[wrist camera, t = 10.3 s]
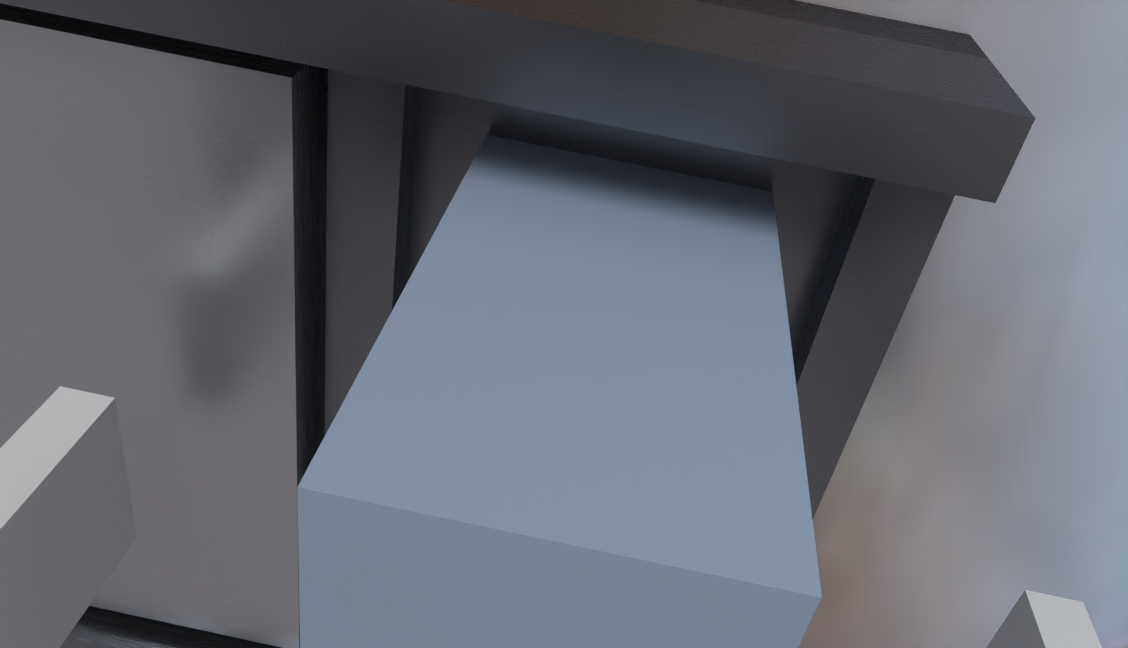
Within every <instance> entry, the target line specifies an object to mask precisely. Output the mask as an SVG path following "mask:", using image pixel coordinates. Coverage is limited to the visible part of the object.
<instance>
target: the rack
mask: <svg viewBox="0 0 1128 648" xmlns="http://www.w3.org/2000/svg"><path fill="white" fill-rule="evenodd" d="M1034 120H1035V117H1034V116H1033V115H1032V113H1031V112H1030V111H1029V109H1028V108H1027V107H1026V106H1025V104H1024V103H1023V102H1022V101H1021V99H1020V98H1019V97H1018V95H1017V94H1016V93H1015V92H1014V90H1013V89H1012V88H1011V87H1010V85H1009V84H1008V83H1007V81H1006V80H1005V79H1004V78H1003V76H1002V75H1001V74H1000V73H999V71H998V70H997V69H996V68H995V66H994V65H993V64H992V62H991V61H990V60H989V59H988V57H987V56H986V55H985V54H984V52H983V51H982V50H981V48H980V47H979V46H978V45H977V43H976V42H975V41H974V40H973V38H972V37H971V36H970V35H968V34H963V33H958V32H953V31H947V30H942V29H937V28H932V27H927V26H922V25H917V24H912V23H907V22H902V21H897V20H891V19H886V18H881V17H876V16H871V15H866V14H861V13H856V12H851V11H846V10H840V9H835V8H830V7H825V6H820V5H815V4H810V3H805V2H800V1H795V0H0V448H1V447H2V446H3V445H4V444H5V443H6V442H7V441H8V440H9V439H10V438H11V437H12V436H13V435H14V434H15V432H16V431H17V430H18V429H19V428H20V427H21V426H22V425H23V424H24V423H25V422H26V421H27V420H28V419H29V418H30V417H31V416H32V415H33V414H34V413H35V412H36V411H37V410H38V409H39V408H40V407H41V406H42V405H43V404H44V403H45V402H46V400H47V399H48V398H49V397H50V396H51V395H52V394H53V393H54V392H55V391H56V390H57V389H58V388H59V387H60V386H61V387H66V388H71V389H76V390H80V391H85V392H90V393H95V394H99V395H104V396H109V397H114V398H115V401H116V407H117V413H118V420H119V426H120V432H121V439H122V445H123V451H124V458H125V464H126V470H127V477H128V483H129V489H130V496H131V502H132V508H133V515H134V521H135V527H136V534H137V538H136V539H135V541H134V542H133V544H132V545H131V547H130V548H129V549H128V551H127V552H126V554H125V555H124V557H123V558H122V559H121V561H120V562H119V564H118V565H117V567H116V568H115V569H114V571H113V572H112V574H111V575H110V577H109V578H108V579H107V581H106V582H105V584H104V585H103V587H102V588H101V589H100V591H99V592H98V594H97V595H96V597H95V598H94V599H93V601H92V602H91V604H90V605H89V607H88V608H87V610H86V611H85V612H84V614H83V615H82V617H81V618H80V620H79V621H78V622H77V624H76V625H75V627H74V628H73V630H72V631H71V632H70V634H69V635H68V637H67V638H66V640H65V641H64V642H63V644H62V645H61V647H60V648H300V610H299V552H298V495H297V487H298V485H299V483H300V481H301V480H302V478H303V476H304V474H305V472H306V470H307V468H308V467H309V465H310V463H311V461H312V459H313V457H314V455H315V453H316V452H317V450H318V448H319V446H320V444H321V442H322V440H323V439H324V437H325V435H326V433H327V431H328V429H329V427H330V426H331V424H332V422H333V420H334V418H335V416H336V414H337V413H338V411H339V409H340V407H341V405H342V403H343V401H344V400H345V398H346V396H347V394H348V392H349V390H350V388H351V387H352V385H353V383H354V381H355V379H356V377H357V375H358V373H359V372H360V370H361V368H362V366H363V364H364V362H365V360H366V359H367V357H368V355H369V353H370V351H371V349H372V347H373V346H374V344H375V342H376V340H377V338H378V336H379V334H380V333H381V331H382V329H383V327H384V325H385V323H386V321H387V320H388V318H389V316H390V314H391V312H392V310H393V308H394V307H395V305H396V303H397V301H398V299H399V297H400V295H401V294H402V292H403V290H404V288H405V286H406V284H407V282H408V280H409V279H410V277H411V275H412V273H413V271H414V269H415V267H416V266H417V264H418V262H419V260H420V258H421V256H422V254H423V253H424V251H425V249H426V247H427V245H428V243H429V241H430V240H431V238H432V236H433V234H434V232H435V230H436V228H437V227H438V225H439V223H440V221H441V219H442V217H443V215H444V214H445V212H446V210H447V208H448V206H449V204H450V202H451V200H452V199H453V197H454V195H455V193H456V191H457V189H458V187H459V186H460V184H461V182H462V180H463V178H464V176H465V174H466V173H467V171H468V169H469V167H470V165H471V163H472V161H473V160H474V158H475V156H476V154H477V152H478V150H479V148H480V147H481V145H482V143H483V141H484V139H485V137H486V135H489V136H494V137H499V138H504V139H510V140H515V141H520V142H525V143H530V144H535V145H540V146H545V147H550V148H555V149H560V150H565V151H570V152H575V153H580V154H585V155H590V156H595V157H600V158H605V159H610V160H615V161H620V162H625V163H630V164H635V165H640V166H645V167H650V168H655V169H660V170H666V171H671V172H676V173H681V174H686V175H691V176H696V177H701V178H706V179H711V180H716V181H721V182H726V183H731V184H736V185H741V186H746V187H751V188H756V189H761V190H766V191H771V192H773V197H774V206H775V214H776V222H777V231H778V239H779V247H780V255H781V264H782V272H783V280H784V289H785V297H786V305H787V313H788V322H789V330H790V338H791V346H792V355H793V363H794V371H795V380H796V388H797V396H798V404H799V413H800V421H801V429H802V438H803V446H804V454H805V462H806V471H807V479H808V487H809V495H810V504H811V512H812V519H813V517H814V515H815V512H816V510H817V508H818V506H819V503H820V501H821V499H822V497H823V494H824V492H825V490H826V487H827V485H828V483H829V481H830V478H831V476H832V474H833V472H834V469H835V467H836V465H837V462H838V460H839V458H840V456H841V453H842V451H843V449H844V446H845V444H846V442H847V440H848V437H849V435H850V433H851V431H852V428H853V426H854V424H855V421H856V419H857V417H858V415H859V412H860V410H861V408H862V406H863V403H864V401H865V399H866V396H867V394H868V392H869V390H870V387H871V385H872V383H873V380H874V378H875V376H876V374H877V371H878V369H879V367H880V365H881V362H882V360H883V358H884V355H885V353H886V351H887V349H888V346H889V344H890V342H891V340H892V337H893V335H894V333H895V330H896V328H897V326H898V324H899V321H900V319H901V317H902V314H903V312H904V310H905V308H906V305H907V303H908V301H909V299H910V296H911V294H912V292H913V289H914V287H915V285H916V283H917V280H918V278H919V276H920V274H921V271H922V269H923V267H924V264H925V262H926V260H927V258H928V255H929V253H930V251H931V248H932V246H933V244H934V242H935V239H936V237H937V235H938V233H939V230H940V228H941V226H942V223H943V221H944V219H945V217H946V214H947V212H948V210H949V208H950V205H951V203H952V201H953V198H954V196H955V195H958V196H963V197H968V198H973V199H978V200H983V201H988V202H993V203H996V201H997V199H998V197H999V194H1000V192H1001V190H1002V188H1003V186H1004V184H1005V182H1006V179H1007V177H1008V175H1009V173H1010V171H1011V169H1012V167H1013V165H1014V162H1015V160H1016V158H1017V156H1018V154H1019V152H1020V150H1021V148H1022V145H1023V143H1024V141H1025V139H1026V137H1027V135H1028V133H1029V131H1030V128H1031V126H1032V124H1033V122H1034Z"/></svg>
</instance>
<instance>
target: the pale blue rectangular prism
mask: <svg viewBox="0 0 1128 648" xmlns="http://www.w3.org/2000/svg"><path fill="white" fill-rule="evenodd" d="M297 495H298V552H299V610H300V648H798V647H799V645H800V642H801V640H802V638H803V636H804V634H805V632H806V630H807V628H808V626H809V624H810V621H811V619H812V617H813V615H814V613H815V611H816V609H817V607H818V605H819V603H820V600H821V598H822V595H821V587H820V578H819V570H818V562H817V553H816V545H815V537H814V529H813V520H812V512H811V504H810V495H809V487H808V479H807V471H806V462H805V454H804V446H803V438H802V429H801V421H800V413H799V404H798V396H797V388H796V380H795V371H794V363H793V355H792V346H791V338H790V330H789V322H788V313H787V305H786V297H785V289H784V280H783V272H782V264H781V255H780V247H779V239H778V231H777V222H776V214H775V206H774V197H773V192H771V191H766V190H761V189H756V188H751V187H746V186H741V185H736V184H731V183H726V182H721V181H716V180H711V179H706V178H701V177H696V176H691V175H686V174H681V173H676V172H671V171H666V170H660V169H655V168H650V167H645V166H640V165H635V164H630V163H625V162H620V161H615V160H610V159H605V158H600V157H595V156H590V155H585V154H580V153H575V152H570V151H565V150H560V149H555V148H550V147H545V146H540V145H535V144H530V143H525V142H520V141H515V140H510V139H504V138H499V137H494V136H489V135H486V137H485V139H484V141H483V143H482V145H481V147H480V148H479V150H478V152H477V154H476V156H475V158H474V160H473V161H472V163H471V165H470V167H469V169H468V171H467V173H466V174H465V176H464V178H463V180H462V182H461V184H460V186H459V187H458V189H457V191H456V193H455V195H454V197H453V199H452V200H451V202H450V204H449V206H448V208H447V210H446V212H445V214H444V215H443V217H442V219H441V221H440V223H439V225H438V227H437V228H436V230H435V232H434V234H433V236H432V238H431V240H430V241H429V243H428V245H427V247H426V249H425V251H424V253H423V254H422V256H421V258H420V260H419V262H418V264H417V266H416V267H415V269H414V271H413V273H412V275H411V277H410V279H409V280H408V282H407V284H406V286H405V288H404V290H403V292H402V294H401V295H400V297H399V299H398V301H397V303H396V305H395V307H394V308H393V310H392V312H391V314H390V316H389V318H388V320H387V321H386V323H385V325H384V327H383V329H382V331H381V333H380V334H379V336H378V338H377V340H376V342H375V344H374V346H373V347H372V349H371V351H370V353H369V355H368V357H367V359H366V360H365V362H364V364H363V366H362V368H361V370H360V372H359V373H358V375H357V377H356V379H355V381H354V383H353V385H352V387H351V388H350V390H349V392H348V394H347V396H346V398H345V400H344V401H343V403H342V405H341V407H340V409H339V411H338V413H337V414H336V416H335V418H334V420H333V422H332V424H331V426H330V427H329V429H328V431H327V433H326V435H325V437H324V439H323V440H322V442H321V444H320V446H319V448H318V450H317V452H316V453H315V455H314V457H313V459H312V461H311V463H310V465H309V467H308V468H307V470H306V472H305V474H304V476H303V478H302V480H301V481H300V483H299V485H298V487H297Z"/></svg>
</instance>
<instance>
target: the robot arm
mask: <svg viewBox="0 0 1128 648" xmlns="http://www.w3.org/2000/svg"><path fill="white" fill-rule="evenodd" d="M136 538H137V534H136V527H135V521H134V515H133V508H132V502H131V496H130V489H129V483H128V477H127V470H126V464H125V458H124V451H123V445H122V439H121V432H120V426H119V420H118V413H117V407H116V401H115V398H114V397H109V396H104V395H99V394H95V393H90V392H85V391H80V390H76V389H71V388H66V387H61V386H60V387H59V388H58V389H57V390H56V391H55V392H54V393H53V394H52V395H51V396H50V397H49V398H48V399H47V400H46V402H45V403H44V404H43V405H42V406H41V407H40V408H39V409H38V410H37V411H36V412H35V413H34V414H33V415H32V416H31V417H30V418H29V419H28V420H27V421H26V422H25V423H24V424H23V425H22V426H21V427H20V428H19V429H18V430H17V431H16V432H15V434H14V435H13V436H12V437H11V438H10V439H9V440H8V441H7V442H6V443H5V444H4V445H3V446H2V447H1V448H0V648H60V647H61V645H62V644H63V642H64V641H65V640H66V638H67V637H68V635H69V634H70V632H71V631H72V630H73V628H74V627H75V625H76V624H77V622H78V621H79V620H80V618H81V617H82V615H83V614H84V612H85V611H86V610H87V608H88V607H89V605H90V604H91V602H92V601H93V599H94V598H95V597H96V595H97V594H98V592H99V591H100V589H101V588H102V587H103V585H104V584H105V582H106V581H107V579H108V578H109V577H110V575H111V574H112V572H113V571H114V569H115V568H116V567H117V565H118V564H119V562H120V561H121V559H122V558H123V557H124V555H125V554H126V552H127V551H128V549H129V548H130V547H131V545H132V544H133V542H134V541H135V539H136ZM987 648H1102V647H1101V644H1100V642H1099V640H1098V637H1097V635H1096V632H1095V630H1094V628H1093V625H1092V623H1091V620H1090V618H1089V615H1088V613H1087V611H1086V608H1085V606H1084V603H1083V602H1080V601H1075V600H1071V599H1066V598H1061V597H1056V596H1052V595H1047V594H1042V593H1037V592H1033V591H1028V590H1025V591H1024V592H1023V594H1022V595H1021V597H1020V598H1019V600H1018V601H1017V603H1016V604H1015V606H1014V607H1013V609H1012V610H1011V612H1010V613H1009V615H1008V616H1007V618H1006V619H1005V621H1004V622H1003V624H1002V625H1001V627H1000V628H999V630H998V631H997V633H996V634H995V636H994V637H993V639H992V640H991V642H990V643H989V645H988V646H987Z"/></svg>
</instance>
